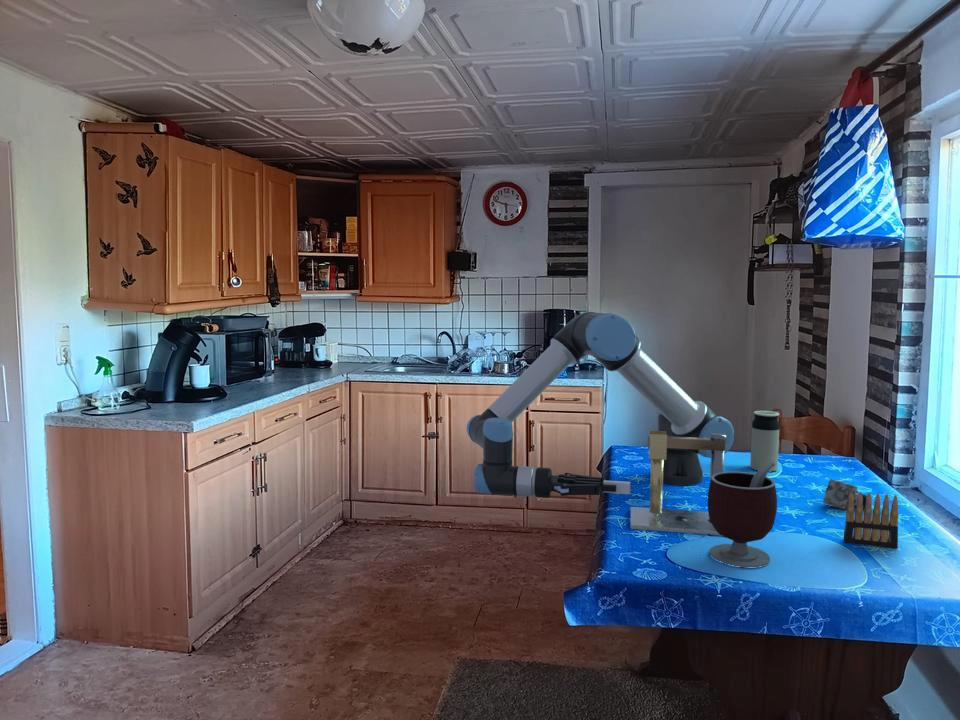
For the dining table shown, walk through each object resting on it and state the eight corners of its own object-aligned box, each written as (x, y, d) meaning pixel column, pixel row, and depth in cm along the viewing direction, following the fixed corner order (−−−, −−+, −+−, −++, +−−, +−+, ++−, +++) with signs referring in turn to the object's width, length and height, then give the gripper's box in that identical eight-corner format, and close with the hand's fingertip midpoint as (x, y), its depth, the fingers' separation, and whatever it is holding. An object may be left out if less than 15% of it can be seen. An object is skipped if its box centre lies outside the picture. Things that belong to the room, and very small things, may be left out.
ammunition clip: (895, 546, 161) (899, 494, 160) (897, 548, 159) (901, 496, 158) (843, 540, 165) (846, 489, 163) (844, 543, 163) (847, 491, 161)
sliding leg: (647, 517, 175) (650, 434, 173) (646, 510, 181) (649, 429, 178) (664, 519, 174) (667, 435, 172) (663, 511, 180) (666, 430, 177)
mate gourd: (737, 574, 145) (742, 478, 143) (691, 550, 158) (695, 461, 156) (794, 562, 151) (799, 470, 149) (746, 540, 164) (750, 455, 162)
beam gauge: (630, 528, 171) (633, 436, 169) (630, 510, 185) (633, 425, 183) (745, 537, 166) (749, 442, 164) (736, 517, 180) (740, 429, 177)
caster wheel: (865, 512, 192) (869, 518, 183) (820, 498, 197) (822, 503, 187) (872, 488, 192) (877, 493, 183) (827, 475, 196) (830, 478, 187)
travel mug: (781, 472, 222) (784, 415, 220) (755, 472, 222) (758, 415, 220) (771, 465, 230) (774, 410, 228) (746, 465, 230) (749, 410, 228)
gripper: (538, 489, 189) (629, 495, 184) (531, 504, 176) (629, 511, 171) (538, 461, 188) (630, 466, 183) (531, 474, 175) (630, 480, 171)
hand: (630, 488), depth 177 cm, fingers closed
